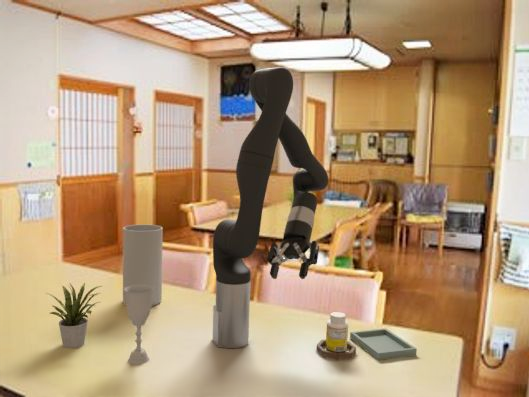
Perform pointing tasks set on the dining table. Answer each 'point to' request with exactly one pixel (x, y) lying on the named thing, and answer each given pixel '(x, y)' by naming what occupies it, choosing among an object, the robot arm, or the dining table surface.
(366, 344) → the tray
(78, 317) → the house plant
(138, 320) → the chalice
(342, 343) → the supplement bottle
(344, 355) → the holder ring
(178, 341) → the dining table surface
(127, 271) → the cylinder vase
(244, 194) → the robot arm
